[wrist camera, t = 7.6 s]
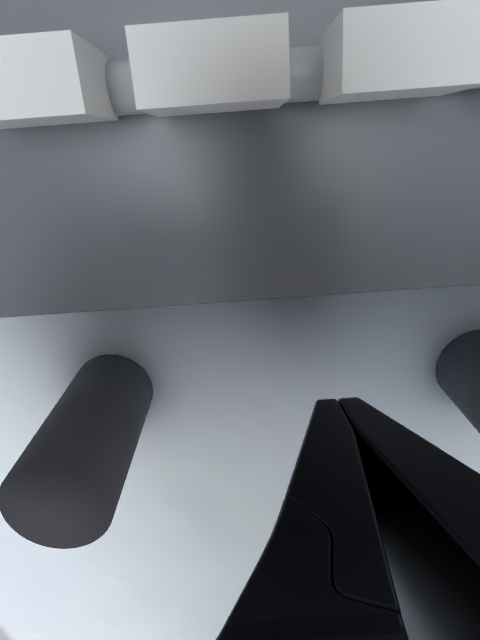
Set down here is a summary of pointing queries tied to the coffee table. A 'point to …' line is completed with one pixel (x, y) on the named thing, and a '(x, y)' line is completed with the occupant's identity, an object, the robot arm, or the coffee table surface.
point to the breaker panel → (233, 186)
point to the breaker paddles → (241, 65)
